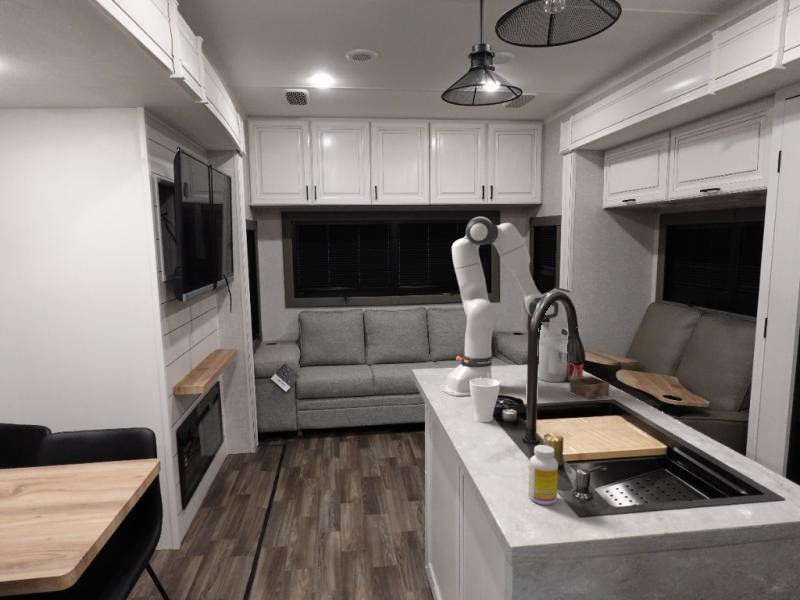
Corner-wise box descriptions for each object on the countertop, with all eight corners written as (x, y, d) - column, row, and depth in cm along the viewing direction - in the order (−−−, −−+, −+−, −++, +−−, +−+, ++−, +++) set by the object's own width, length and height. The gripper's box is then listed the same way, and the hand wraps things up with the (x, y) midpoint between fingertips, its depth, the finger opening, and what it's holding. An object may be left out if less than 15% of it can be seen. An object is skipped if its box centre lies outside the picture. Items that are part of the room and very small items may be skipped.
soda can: (580, 378, 228) (581, 350, 227) (584, 382, 221) (585, 354, 219) (564, 377, 229) (565, 349, 227) (567, 382, 222) (569, 353, 220)
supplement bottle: (562, 503, 120) (564, 452, 119) (537, 507, 119) (540, 456, 117) (546, 490, 127) (548, 441, 125) (523, 493, 125) (525, 444, 123)
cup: (473, 412, 183) (474, 376, 181) (502, 417, 178) (503, 380, 176) (464, 421, 173) (465, 384, 172) (494, 427, 169) (495, 388, 167)
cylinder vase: (550, 373, 236) (552, 321, 232) (571, 380, 225) (574, 325, 222) (530, 377, 229) (532, 323, 226) (551, 384, 219) (554, 327, 215)
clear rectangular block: (554, 374, 202) (556, 350, 201) (548, 371, 206) (549, 348, 204) (566, 373, 204) (568, 349, 203) (559, 370, 208) (561, 347, 207)
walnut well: (588, 399, 198) (588, 386, 198) (569, 392, 207) (570, 379, 207) (608, 396, 203) (609, 382, 202) (589, 389, 212) (590, 376, 211)
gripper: (537, 324, 211) (535, 356, 212) (572, 333, 192) (569, 368, 194) (549, 323, 213) (546, 355, 215) (584, 332, 195) (582, 367, 197)
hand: (558, 361), depth 204 cm, fingers closed on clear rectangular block, 4 cm apart
